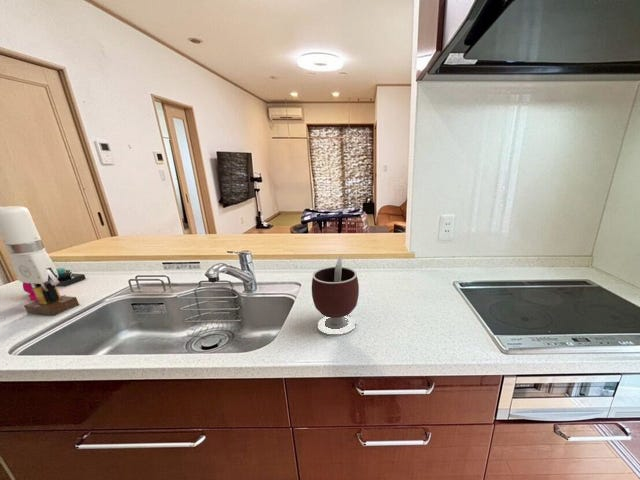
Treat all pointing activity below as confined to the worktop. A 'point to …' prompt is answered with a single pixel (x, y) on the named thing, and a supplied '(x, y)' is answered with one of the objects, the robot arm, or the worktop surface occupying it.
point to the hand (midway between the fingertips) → (50, 299)
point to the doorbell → (69, 278)
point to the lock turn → (42, 295)
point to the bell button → (61, 271)
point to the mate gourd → (335, 294)
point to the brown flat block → (52, 306)
